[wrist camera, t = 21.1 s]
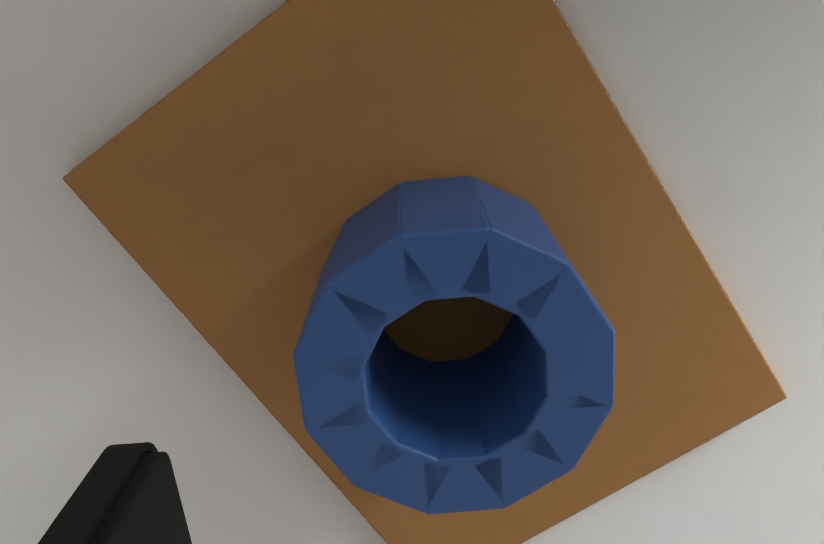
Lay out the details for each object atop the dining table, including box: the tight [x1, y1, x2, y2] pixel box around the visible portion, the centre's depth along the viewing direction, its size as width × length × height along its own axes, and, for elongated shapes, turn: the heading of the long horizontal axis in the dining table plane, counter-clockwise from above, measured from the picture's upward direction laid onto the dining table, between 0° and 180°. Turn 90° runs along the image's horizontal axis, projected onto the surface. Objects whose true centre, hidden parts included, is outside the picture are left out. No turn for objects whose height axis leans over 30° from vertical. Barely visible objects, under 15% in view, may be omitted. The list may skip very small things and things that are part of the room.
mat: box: [63, 0, 787, 544], centre depth 18 cm, size 16×12×1 cm
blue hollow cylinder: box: [293, 176, 615, 515], centre depth 16 cm, size 6×6×4 cm
